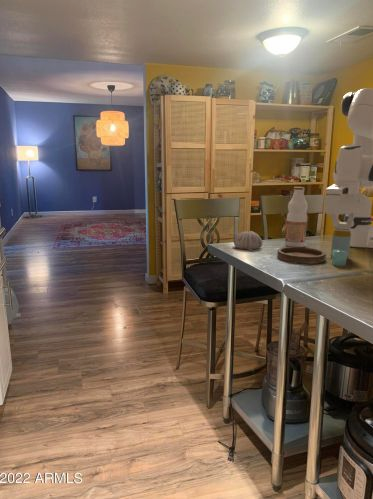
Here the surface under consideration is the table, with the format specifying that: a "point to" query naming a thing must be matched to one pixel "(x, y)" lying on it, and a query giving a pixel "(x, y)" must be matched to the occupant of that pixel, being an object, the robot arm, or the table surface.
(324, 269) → the table surface
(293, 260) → the round tray
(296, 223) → the fruit juice
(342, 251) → the bead
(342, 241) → the bottle
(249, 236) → the sea urchin shell
